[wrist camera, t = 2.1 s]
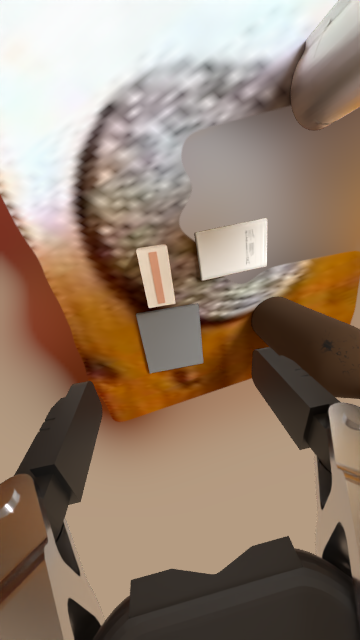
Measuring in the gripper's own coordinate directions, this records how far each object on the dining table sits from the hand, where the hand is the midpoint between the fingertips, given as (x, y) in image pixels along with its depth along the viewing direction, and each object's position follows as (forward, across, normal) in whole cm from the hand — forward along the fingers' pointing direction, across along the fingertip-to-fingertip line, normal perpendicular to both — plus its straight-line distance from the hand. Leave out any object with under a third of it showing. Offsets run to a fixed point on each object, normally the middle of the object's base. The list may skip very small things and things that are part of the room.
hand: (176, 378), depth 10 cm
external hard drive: (+28, -14, -2) cm, 32 cm away
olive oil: (+28, -23, +13) cm, 38 cm away
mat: (+27, -1, +14) cm, 31 cm away
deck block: (+28, 0, 0) cm, 28 cm away
